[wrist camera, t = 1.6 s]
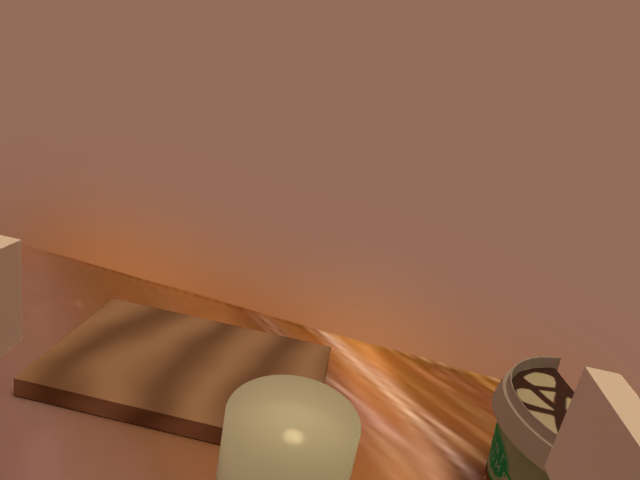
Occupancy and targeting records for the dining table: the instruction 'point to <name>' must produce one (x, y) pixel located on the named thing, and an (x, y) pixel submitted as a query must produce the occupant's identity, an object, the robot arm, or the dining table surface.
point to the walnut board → (162, 368)
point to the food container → (527, 419)
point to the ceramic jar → (288, 431)
